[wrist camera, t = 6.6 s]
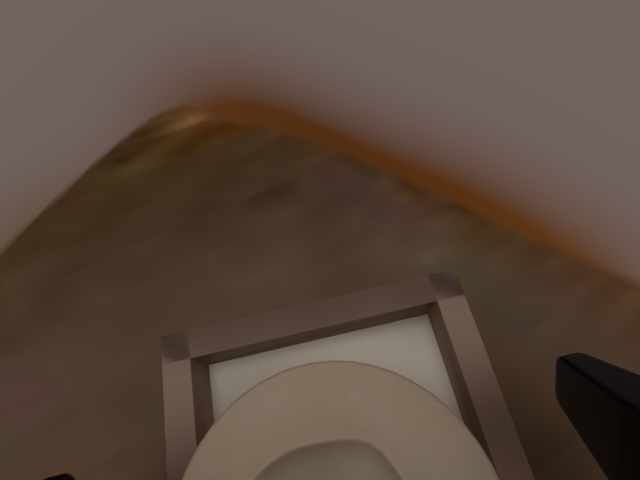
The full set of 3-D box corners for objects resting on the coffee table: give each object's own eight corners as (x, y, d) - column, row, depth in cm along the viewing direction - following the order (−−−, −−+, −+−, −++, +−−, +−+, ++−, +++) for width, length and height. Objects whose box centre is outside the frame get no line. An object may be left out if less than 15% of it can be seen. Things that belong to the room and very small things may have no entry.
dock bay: (549, 610, 13) (606, 667, 10) (220, 692, 13) (180, 775, 10) (437, 293, 17) (454, 268, 14) (193, 350, 17) (160, 336, 14)
